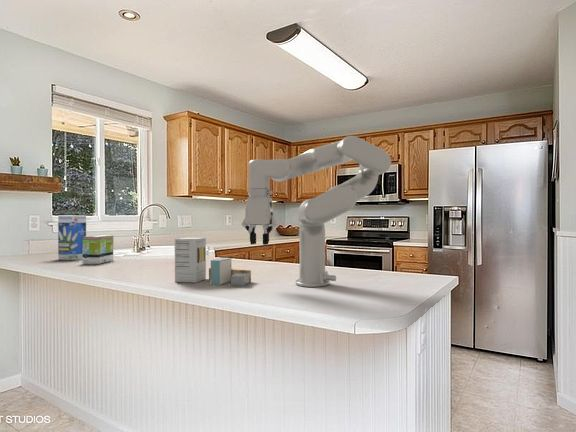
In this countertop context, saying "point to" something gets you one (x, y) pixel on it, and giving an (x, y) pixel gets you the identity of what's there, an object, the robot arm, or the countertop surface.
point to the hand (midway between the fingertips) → (259, 243)
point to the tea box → (97, 249)
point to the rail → (235, 272)
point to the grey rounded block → (239, 279)
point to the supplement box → (190, 259)
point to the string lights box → (71, 237)
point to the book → (221, 271)
